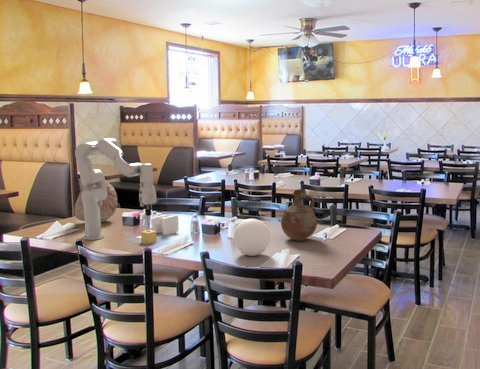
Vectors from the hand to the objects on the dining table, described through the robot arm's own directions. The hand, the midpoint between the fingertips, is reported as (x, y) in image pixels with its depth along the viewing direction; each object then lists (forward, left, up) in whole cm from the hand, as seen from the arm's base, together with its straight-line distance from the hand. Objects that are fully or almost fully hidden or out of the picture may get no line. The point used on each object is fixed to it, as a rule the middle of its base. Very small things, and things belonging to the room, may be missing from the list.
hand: (148, 215), depth 303 cm
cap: (0, 0, -16) cm, 16 cm away
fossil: (-75, +19, -17) cm, 80 cm away
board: (-5, +3, -17) cm, 18 cm away
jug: (+68, +59, -17) cm, 91 cm away
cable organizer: (-10, +23, -18) cm, 31 cm away
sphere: (+65, +15, -17) cm, 69 cm away
